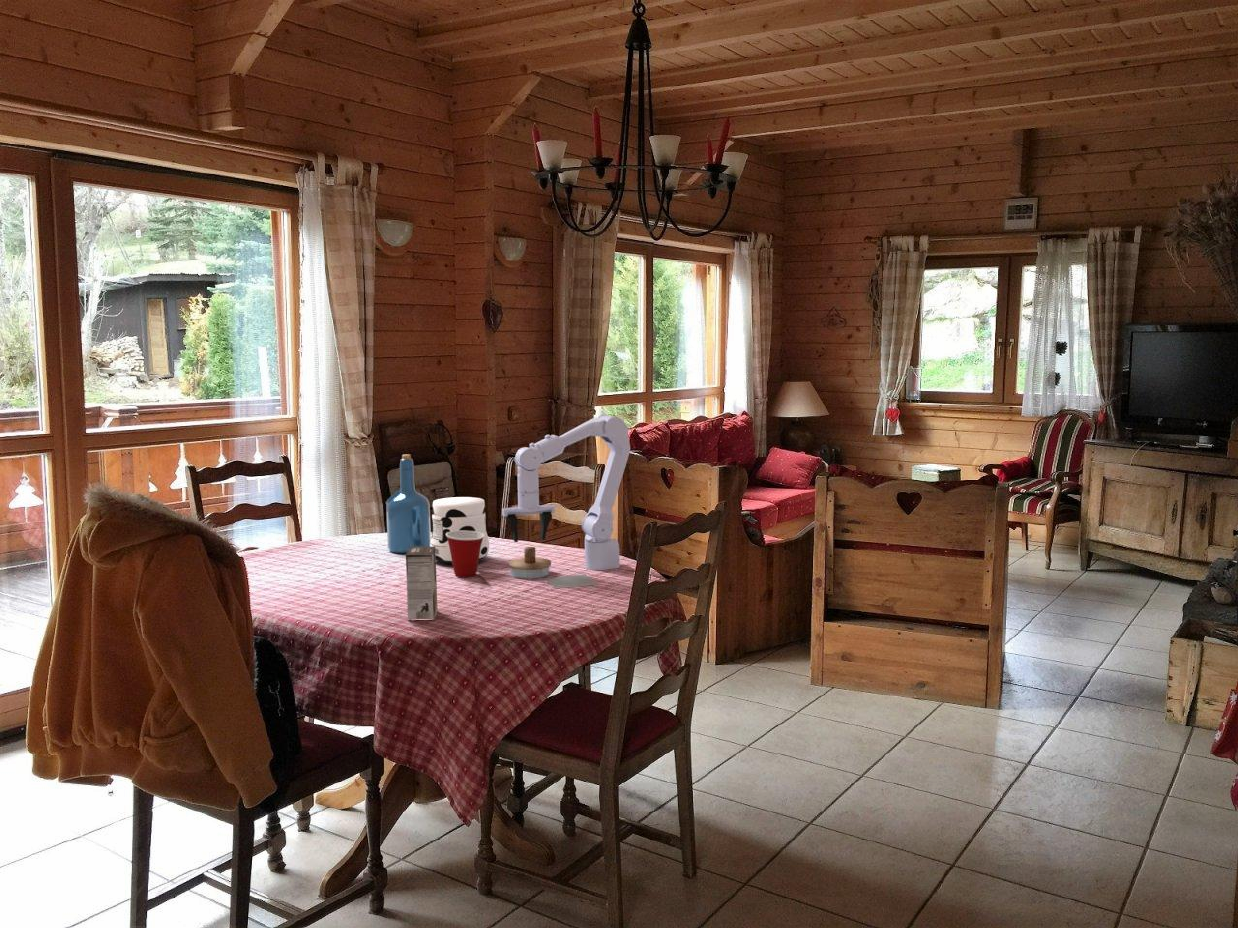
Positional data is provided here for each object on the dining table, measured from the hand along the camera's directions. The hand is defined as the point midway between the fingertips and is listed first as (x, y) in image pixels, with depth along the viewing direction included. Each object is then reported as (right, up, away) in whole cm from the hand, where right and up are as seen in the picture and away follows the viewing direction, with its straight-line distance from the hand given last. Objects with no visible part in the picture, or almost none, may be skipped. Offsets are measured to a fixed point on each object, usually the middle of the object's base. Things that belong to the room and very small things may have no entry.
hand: (529, 540), depth 281 cm
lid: (0, -7, 0) cm, 7 cm away
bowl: (0, -10, +1) cm, 10 cm away
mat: (+12, -11, -8) cm, 18 cm away
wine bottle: (-41, -6, +38) cm, 56 cm away
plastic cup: (-18, -10, +4) cm, 21 cm away
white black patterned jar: (-22, -8, +22) cm, 33 cm away
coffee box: (-22, -16, -37) cm, 46 cm away
